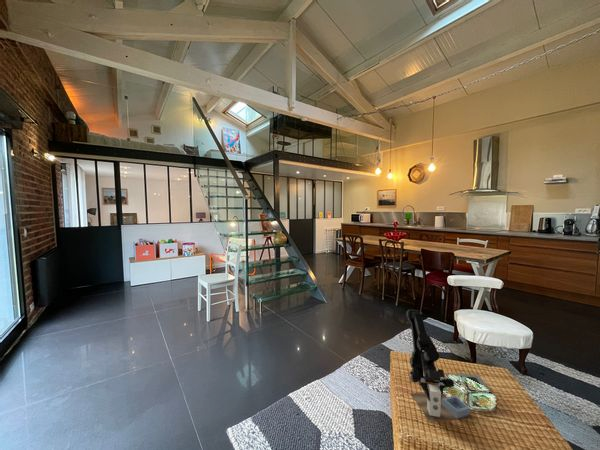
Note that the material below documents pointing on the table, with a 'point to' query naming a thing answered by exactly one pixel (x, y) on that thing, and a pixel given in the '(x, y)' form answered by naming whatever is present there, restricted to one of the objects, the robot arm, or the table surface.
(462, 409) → the socket cup
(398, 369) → the table surface
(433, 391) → the tower
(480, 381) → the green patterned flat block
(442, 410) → the walnut board
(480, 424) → the table surface
